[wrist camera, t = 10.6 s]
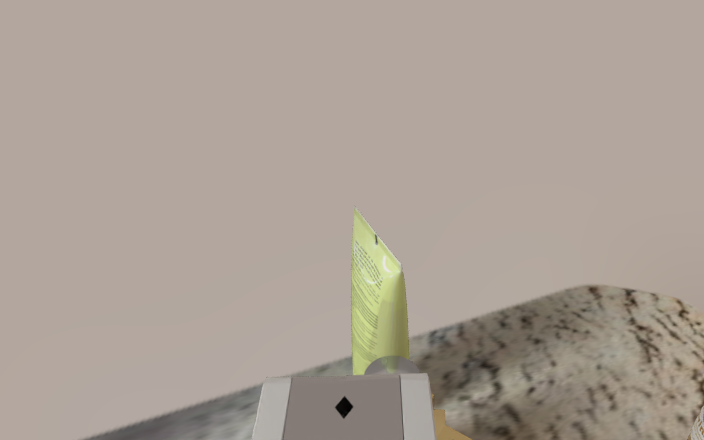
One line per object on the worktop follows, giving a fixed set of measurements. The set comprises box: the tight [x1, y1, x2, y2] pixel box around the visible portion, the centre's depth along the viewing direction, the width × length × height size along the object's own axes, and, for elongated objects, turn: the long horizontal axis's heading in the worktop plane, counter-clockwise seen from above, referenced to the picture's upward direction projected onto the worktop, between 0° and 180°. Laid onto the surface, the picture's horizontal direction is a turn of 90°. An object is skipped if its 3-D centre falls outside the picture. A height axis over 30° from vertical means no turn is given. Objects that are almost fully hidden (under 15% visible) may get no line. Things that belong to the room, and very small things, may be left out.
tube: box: [351, 207, 409, 375], centre depth 41 cm, size 6×5×20 cm
